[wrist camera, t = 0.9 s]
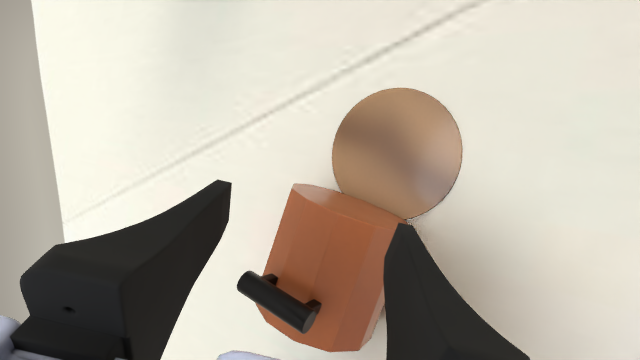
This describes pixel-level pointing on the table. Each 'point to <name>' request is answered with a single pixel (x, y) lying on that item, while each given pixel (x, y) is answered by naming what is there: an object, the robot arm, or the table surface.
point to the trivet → (398, 152)
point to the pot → (325, 269)
